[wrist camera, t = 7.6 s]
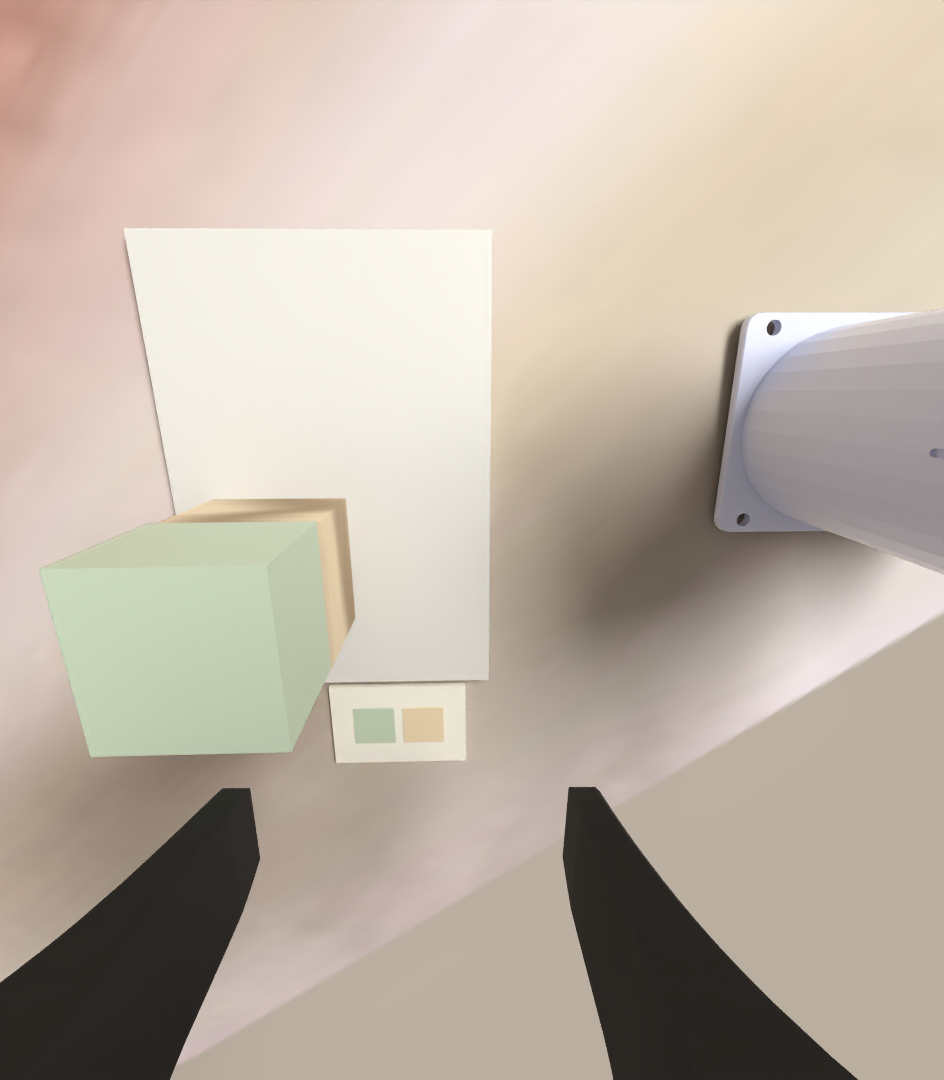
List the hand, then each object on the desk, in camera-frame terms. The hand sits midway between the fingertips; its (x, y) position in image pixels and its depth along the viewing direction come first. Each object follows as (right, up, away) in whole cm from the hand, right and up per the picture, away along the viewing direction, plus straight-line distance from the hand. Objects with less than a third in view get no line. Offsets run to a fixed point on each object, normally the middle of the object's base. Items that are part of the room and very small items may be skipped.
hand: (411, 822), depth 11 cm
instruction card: (-2, -2, +11) cm, 12 cm away
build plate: (-4, +9, +8) cm, 12 cm away
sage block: (-6, +5, +4) cm, 9 cm away
